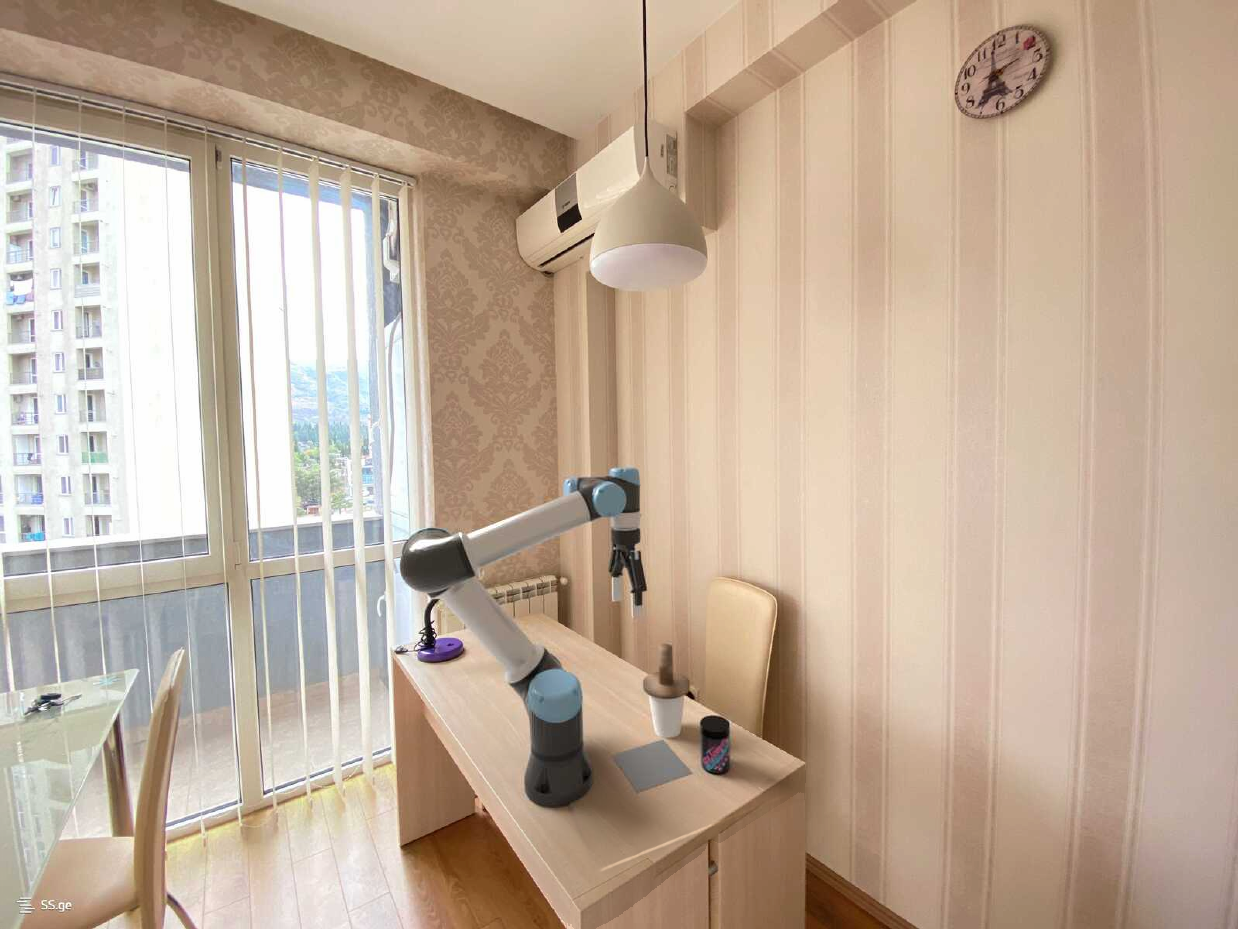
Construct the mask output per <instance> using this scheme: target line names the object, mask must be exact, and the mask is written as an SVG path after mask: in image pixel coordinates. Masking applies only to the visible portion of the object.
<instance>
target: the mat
mask: <svg viewBox="0 0 1238 929" xmlns="http://www.w3.org/2000/svg"><path fill="white" fill-rule="evenodd" d="M611 758H612V759H613V761H614V762H615V763H616V766H618V767H619V769H620V770H621V772H622V773H623V775H624V777H625V778H626V779H627V781H628V782H629V784H630V785H631V786H632V789H634V791H635V792H636V794H638V793H641V792H644V791H647V790H650V789H652V788H655V787H658V786H661V785H664V784H666V783H669V782H670V783H671V782H672V781H676V780H678V779H681V778H683V777H687V776H690V775H692V774H693V772H692V770H691V769H690V768H689V767H688V766H687V764H685V763H684V761H683V760H682V759H681V758H680V757H679V756H678V755H677V753H676V752H675V751H674V750H673V749H672V748H671V747H670V746H669V745H668V743H667V742H665V740H664V739H660V740H657V741H653V742H650V743H647V744H645V745H641V746H640V745H639V746H637V747H634V748H631V749H628V750H624V751H622V752H617V753H615V754H612V755H611Z"/></svg>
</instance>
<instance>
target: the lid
mask: <svg viewBox="0 0 1238 929" xmlns="http://www.w3.org/2000/svg"><path fill="white" fill-rule="evenodd" d="M657 647H658V652H657V653H658V654H657V655H658V656H657V657H658V671H655V672H652V673H649V674H648V675H646V676H645V677H644V679H643V680H642V689H643V691H644V693H645V694H647V695H648V696H649V695H650V696H652V697H655V698H660V699H674V698H679V697H682V696H684V697H685V696H686V695H687V694H688V693H689V692H690V689H691V682H690V679H689V678H688V677H687V676H686V675H684V674H683V673H679V672H676V671H674V663H673V662H674V661H673V658H674V657H673V654H674V653H673V652H674V651H673V646H672V645H671V644H669V643H663V644H660V645H658V646H657Z"/></svg>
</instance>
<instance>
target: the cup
mask: <svg viewBox="0 0 1238 929" xmlns="http://www.w3.org/2000/svg"><path fill="white" fill-rule="evenodd" d="M648 701H649V706H650V712H651V717H652V723H653V730H654V733H655V734H656V735H657V736H658V737H660V738H665V739H672V738H676V737H678V736H679V735H680V733H681V730H682V729H681V728H682V721H683V714H684V712H683V711H684V706H685V705H684V704H685V695H684V696H682V697H679V698H674V699H660V698H655V697H652V696H650V695H648Z"/></svg>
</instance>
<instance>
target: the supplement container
mask: <svg viewBox="0 0 1238 929" xmlns="http://www.w3.org/2000/svg"><path fill="white" fill-rule="evenodd" d="M699 726H700V727H699V731H700V763H701V764H700V765H701V767H702V769H703V771H705V772H706V773H708V774H710V775H716V776H721V775H725V774H727V773H728V772H729V771H730V769H731V724H730V721H729V720H728V719H726V718H725V717H723V716H720V715H712V714H711V715H707V716H704V717H702V718H701V720H700V721H699Z"/></svg>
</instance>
